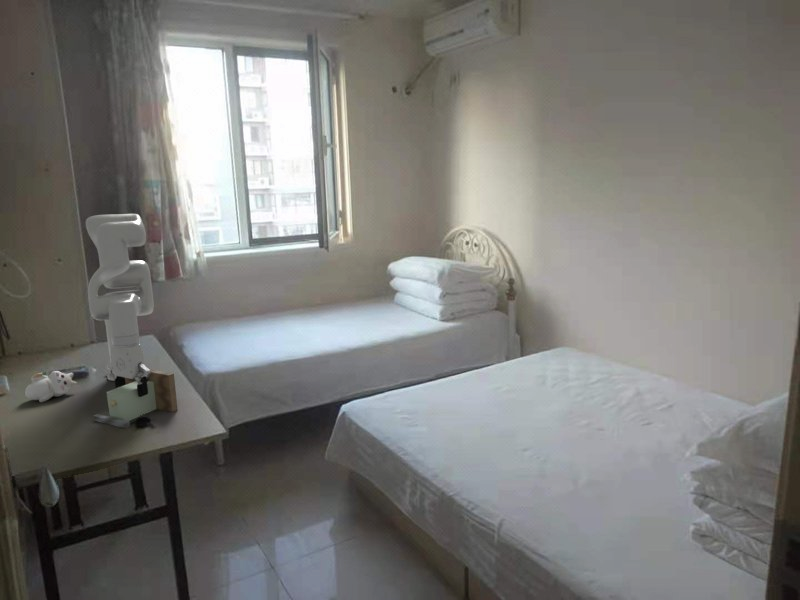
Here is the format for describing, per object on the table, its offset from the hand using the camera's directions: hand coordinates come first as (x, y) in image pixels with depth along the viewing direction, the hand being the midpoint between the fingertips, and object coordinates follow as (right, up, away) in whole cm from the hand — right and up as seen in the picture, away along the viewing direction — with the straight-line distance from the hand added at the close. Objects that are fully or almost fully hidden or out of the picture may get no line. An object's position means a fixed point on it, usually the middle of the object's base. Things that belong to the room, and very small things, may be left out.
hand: (132, 392), depth 179 cm
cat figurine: (-34, -4, +17) cm, 38 cm away
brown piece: (0, -7, 0) cm, 7 cm away
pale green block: (0, -7, +1) cm, 7 cm away
